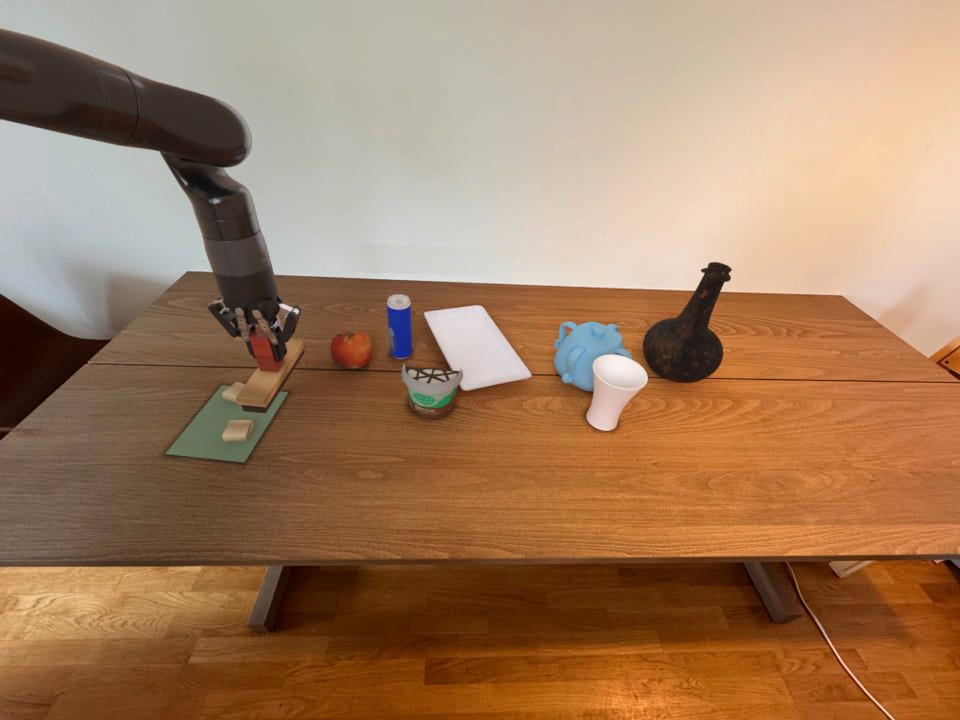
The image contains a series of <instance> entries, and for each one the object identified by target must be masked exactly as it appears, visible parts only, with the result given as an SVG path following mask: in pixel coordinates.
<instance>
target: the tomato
mask: <svg viewBox="0 0 960 720" xmlns="http://www.w3.org/2000/svg"><path fill="white" fill-rule="evenodd" d="M330 356H331V358H332V359H333V361H334V362H335V363H336V364H337V365H339V366H341V367H342V368H344V369H349V370H354V369H361V368H363V367H365V366H367V365H368V364H369V363H370V361H371V360H372V357H373V342H372V340H371V338H370V336H369V335H368V334H367V333H366V332H364V331H361V330H349V331H348V330H346V331H342V332H339V333H337V334H336V335H335V336H333V337H332V339H331V342H330Z"/></svg>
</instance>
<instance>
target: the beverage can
mask: <svg viewBox="0 0 960 720" xmlns="http://www.w3.org/2000/svg"><path fill="white" fill-rule="evenodd" d="M386 312H387V313H386V314H387V324H388V340H389V353H390V355H391V356H392V357H393V358H394V359H397V360H405V359H408V358H409V357H410V356H411V355H412V353H413V338H412V336H413V335H412V333H413V332H412V330H413V329H412V301H411V299H410V297H409V296H407V295H405V294H401V293H397V294H392V295H390V296H388V298H387V301H386Z"/></svg>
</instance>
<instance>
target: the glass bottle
mask: <svg viewBox="0 0 960 720" xmlns="http://www.w3.org/2000/svg"><path fill="white" fill-rule="evenodd" d="M732 271H733V269H732V268H731V266H729V265H728V264H725V263H722V262H718V261H711V262H709V263H708V264H707V267H704V268H701V269H700V272H701V273H702V274H703V275H702V277H701V280H700V281H699V283H698V285H697V287H696V288H695V290H694V292H693V293H692V295H691V297H690V299H689V300H688V302H687V303H686V304H685V306H684V308H683V309H682V311H681V312H680V313H679V314H678V316H676V317H670V318H665V319H662V320H659V321H657V322H655V323H654V324H653V325H651V326H650V327H649V329H648V330H647V331H646V332H645V334H644V336H643V340H642V353H643V357H644V359H645V362H646V363H647V365H648V367H649V368H650V369H651V370H652V372H654V373H655V374H656V375H658V376H659V377H661V378H662V379H664V380H668V381H671V382H674V383H680V384H692V383H693V384H694V383H697V382H700V381H702V380H705V379H707V378H709V377H710V376H712V375H713V374H714V373H715V372H716V371H717V370H718V369H719V368H720V366H721V364H722V361H723V358H724V347H723V344H722V341H721V340H720V337H718V335H717V334H716V333H715V332H714V331H713V330H712V329H711V328H709V324H710V321H711V316H712V314H713V311H714V308H715V306H716V303H717V301H718V298H719V296H720V293H721V291H722V289H723V287H724V284H725V283H728V282H730V281H731V280H732V277H731V274H730V273H731V272H732Z"/></svg>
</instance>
